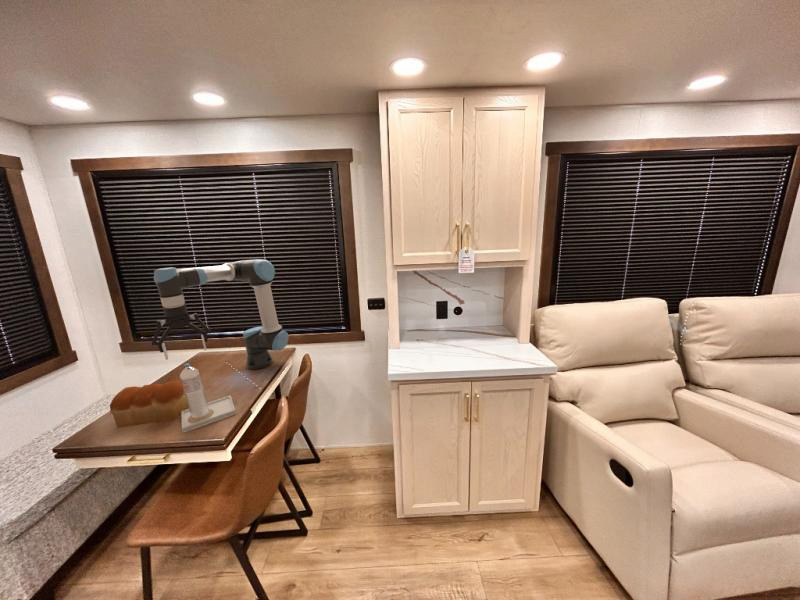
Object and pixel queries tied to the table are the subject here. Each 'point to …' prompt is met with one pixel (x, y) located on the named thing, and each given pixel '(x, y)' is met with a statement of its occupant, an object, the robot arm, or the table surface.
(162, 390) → the bread
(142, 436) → the table surface
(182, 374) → the water bottle
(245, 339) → the robot arm
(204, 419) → the tray
